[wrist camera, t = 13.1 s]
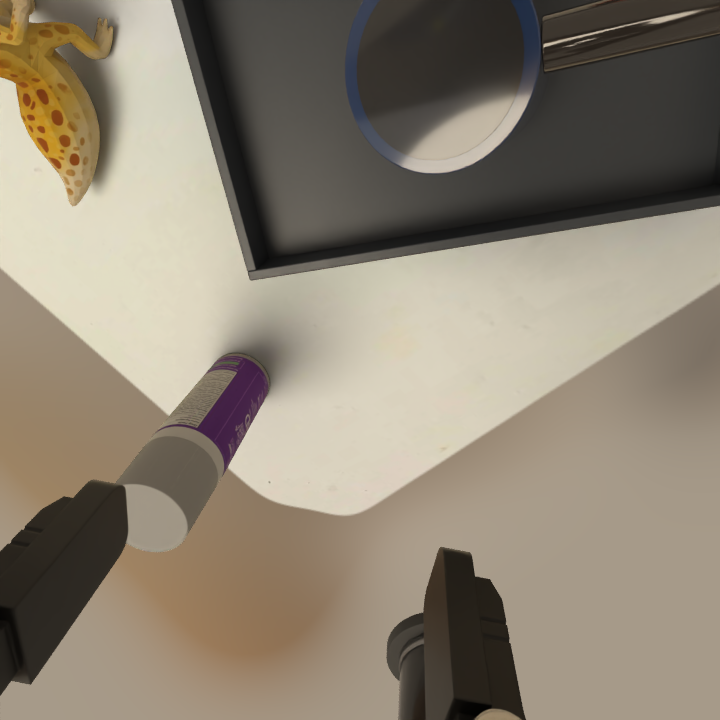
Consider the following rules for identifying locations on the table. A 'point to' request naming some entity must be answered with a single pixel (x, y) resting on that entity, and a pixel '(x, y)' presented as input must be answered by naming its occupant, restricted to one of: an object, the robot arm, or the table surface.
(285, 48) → the tray
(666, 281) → the table surface
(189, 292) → the table surface
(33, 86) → the toy
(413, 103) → the blue saucepan
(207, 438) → the container
